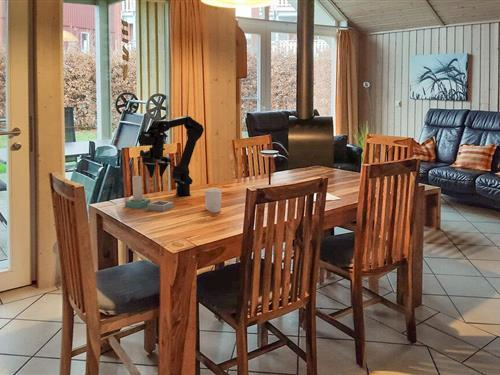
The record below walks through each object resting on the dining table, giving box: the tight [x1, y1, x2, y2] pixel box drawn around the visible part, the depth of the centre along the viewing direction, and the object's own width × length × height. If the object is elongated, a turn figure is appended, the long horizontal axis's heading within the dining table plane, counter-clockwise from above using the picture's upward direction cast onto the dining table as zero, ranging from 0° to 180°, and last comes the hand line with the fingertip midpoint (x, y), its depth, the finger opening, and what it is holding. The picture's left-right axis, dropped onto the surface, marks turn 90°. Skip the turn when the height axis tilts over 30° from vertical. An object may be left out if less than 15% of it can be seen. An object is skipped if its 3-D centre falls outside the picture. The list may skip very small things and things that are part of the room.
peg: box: [131, 175, 144, 202], centre depth 246 cm, size 4×4×14 cm
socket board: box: [123, 198, 175, 213], centre depth 245 cm, size 22×11×4 cm, turn 66°
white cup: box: [204, 187, 223, 214], centre depth 241 cm, size 8×8×10 cm
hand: (155, 177), depth 259 cm, fingers open, 9 cm apart
